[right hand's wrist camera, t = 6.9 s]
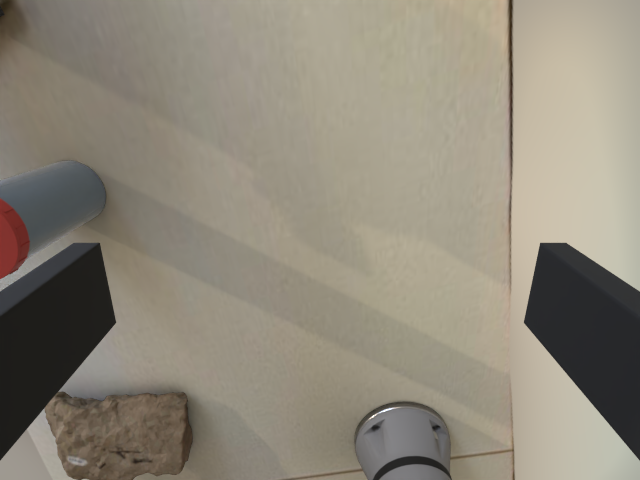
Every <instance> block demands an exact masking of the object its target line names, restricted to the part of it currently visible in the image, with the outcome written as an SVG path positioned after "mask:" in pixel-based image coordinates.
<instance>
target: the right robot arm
mask: <svg viewBox="0 0 640 480" xmlns="http://www.w3.org/2000/svg"><path fill="white" fill-rule="evenodd" d="M115 323H116V320H115V315H114V310H113V305H112V300H111V295H110V291H109V286H108V281H107V276H106V271H105V266H104V261H103V257H102V252H101V247H100V243H73V244H72V245H70V246H69V247H67V248H66V249H64V250H63V251H61V252H60V253H58V254H56V255H55V256H53V257H52V258H50V259H49V260H47V261H46V262H44V263H43V264H41V265H40V266H38V267H37V268H35V269H34V270H32V271H31V272H29V273H28V274H26V275H25V276H23V277H22V278H20V279H19V280H17V281H16V282H14V283H13V284H11V285H10V286H8V287H7V288H5V289H4V290H2V291H1V292H0V460H1V459H2V458H3V456H4V455H5V454H6V453H7V452H8V451H9V449H10V448H11V447H12V446H13V445H14V443H15V442H16V441H17V440H18V439H19V438H20V436H21V435H22V434H23V433H24V432H25V430H26V429H27V428H28V427H29V426H30V424H31V423H32V422H33V421H34V420H35V418H36V417H37V416H38V415H39V414H40V413H41V411H42V410H43V409H44V408H45V407H46V405H47V404H48V403H49V402H50V401H51V399H52V398H53V397H54V396H55V395H56V394H57V392H58V391H59V390H60V389H61V388H62V386H63V385H64V384H65V383H66V382H67V380H68V379H69V378H70V377H71V376H72V374H73V373H74V372H75V371H76V370H77V369H78V367H79V366H80V365H81V364H82V363H83V361H84V360H85V359H86V358H87V357H88V355H89V354H90V353H91V352H92V351H93V350H94V348H95V347H96V346H97V345H98V344H99V342H100V341H101V340H102V339H103V338H104V336H105V335H106V334H107V333H108V332H109V330H110V329H111V328H112V327H113V326H114V325H115ZM524 323H525V324H526V326H527V327H528V328H529V329H530V330H531V332H532V333H533V334H534V335H535V336H536V338H537V339H538V340H539V341H540V342H541V344H542V345H543V346H544V347H545V348H546V349H547V351H548V352H549V353H550V354H551V355H552V357H553V358H554V359H555V360H556V361H557V363H558V364H559V365H560V366H561V367H562V368H563V370H564V371H565V372H566V373H567V374H568V376H569V377H570V378H571V379H572V380H573V382H574V383H575V384H576V385H577V386H578V388H579V389H580V390H581V391H582V392H583V393H584V395H585V396H586V397H587V398H588V399H589V401H590V402H591V403H592V404H593V405H594V407H595V408H596V409H597V410H598V411H599V412H600V414H601V415H602V416H603V417H604V418H605V420H606V421H607V422H608V423H609V424H610V426H611V427H612V428H613V429H614V430H615V432H616V433H617V434H618V435H619V436H620V437H621V439H622V440H623V441H624V442H625V443H626V445H627V446H628V447H629V448H630V449H631V451H632V452H633V453H634V454H635V455H636V456H637V458H638V459H639V460H640V292H639V291H638V290H636V289H635V288H633V287H632V286H630V285H629V284H627V283H626V282H624V281H623V280H621V279H620V278H618V277H617V276H615V275H614V274H612V273H611V272H609V271H608V270H606V269H605V268H603V267H602V266H600V265H599V264H597V263H596V262H594V261H593V260H591V259H589V258H588V257H587V256H585V255H584V254H582V253H580V252H579V251H577V250H576V249H574V248H573V247H571V246H570V245H568V244H567V243H540V247H539V252H538V257H537V261H536V266H535V271H534V276H533V281H532V286H531V291H530V295H529V300H528V305H527V310H526V315H525V320H524ZM450 447H451V444H450V437H449V433H448V430H447V427H446V425H445V422H444V421H443V419H442V418H441V417H440V415H439V414H438V413H436V412H435V411H434V410H432V409H431V408H429V407H427V406H424V405H421V404H418V403H412V402H396V403H390V404H387V405H384V406H381V407H379V408H377V409H375V410H373V411H372V412H370V413H369V414H368V415H366V416H365V417H364V418H363V420H362V421H361V422H360V424H359V425H358V427H357V430H356V433H355V450H356V455H357V458H358V461H359V463H360V465H361V467H362V469H363V471H364V473H365V475H366V477H367V479H368V480H452V479H451V476H450Z"/></svg>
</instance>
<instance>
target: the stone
mask: <svg viewBox="0 0 640 480" xmlns="http://www.w3.org/2000/svg"><path fill="white" fill-rule="evenodd" d="M187 401H188V399H187V396H186V395H185V393H169V394H162V395H152V394H149V393H145V394H139V395H137V396H129V395H123V396H117V395H111V396H107V397H106V398H105V400H104V401H99V400H96V399H92V398H88V399H82V398H77V397H74V398H72V397H70V396H69V395H68V394H66V393H65V392H57V394H56V395H55V396H54V397H53V398H52V399H51V401H50V402H49V403H48V404H47V405H46V407H45V413H46V418H47V420H48V424H49V425H50V427H51V431H52V433H53V435H54V436H55V437H56V444H57V448H58V456H59V458H60V460H61V461H62V465H63V468H64V470H65V471H66V473H67V475H68V476H69V477H71V478H73V479H77V480H81V479H89V480H133V479H134V478H135V477H136V476H138V475H142V474H144V473H151V474H154V475H155V476H159V475H162V474H172V475H177V474H179V473H180V472H181V471H182V469H183V467H184V464H185V462H186V461H188V457H189V452H190V448H191V444H192V431H191V427H190V425H189V423H188V411H187V405H186V404H187Z"/></svg>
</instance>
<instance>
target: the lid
mask: <svg viewBox="0 0 640 480" xmlns="http://www.w3.org/2000/svg"><path fill="white" fill-rule="evenodd" d="M29 246H30V241H29V235H28V231H27V229H26V226H25V224H24V222H23V220H22V219H21V217H20V216H19V215H18V213H17V212H16V211H15V210H14V208H12V207H11V206H10V205H9V204H8V203H6V202H5V201H4V200H2V199H1V198H0V279H1V278H3V277H5V276H7V275H8V274H11V273H13V272H15V271H16V270H18V269H19V267H20V266H21V265H22V264H23V263H24V261H25V260H26V258H28V257H27V255H28V252H29Z"/></svg>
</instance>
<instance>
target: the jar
mask: <svg viewBox="0 0 640 480" xmlns="http://www.w3.org/2000/svg"><path fill="white" fill-rule="evenodd" d="M0 198H1V199H2V200H4V201H5V202H6V203H8V204H9V205H10V206H11V207H12V208H14V210H15V211H16V212H17V213H18V215H19V216H20V217H21V219H22V220H23V222H24V224H25V226H26V229H27V231H28V235H29V241H30V246H29V252H28V255H27V257H28V258H29V257H31V256H33V255H34V254H36V253H37V252H39V251H41V250H42V249H44V248H46V247H47V246H49V245H51V244H52V243H54V242H55V241H57V240H59V239H60V238H62V237H64V236H65V235H67V234H69V233H70V232H72V231H73V230H75V229H77V228H78V227H80V226H82V225H83V224H85V223H87V222H88V221H90V220H92V219H93V218H95V217H96V216H98V215H99V214H100V213H101V211H102V210H103V208H104V205H105V202H106V192H105V188H104V185H103V183H102V181H101V179H100V178H99V177H98V175H97V174H96V173H95V172H94V171H93V170H92V169H90V168H89V167H87V166H86V165H84V164H81V163H79V162H76V161H60V162H56V163H53V164H50V165H47V166H44V167H40V168H37V169H34V170H31V171H28V172H24V173H21V174H18V175H15V176H12V177H8V178H5V179H2V180H0ZM28 258H26V259H28Z"/></svg>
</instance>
